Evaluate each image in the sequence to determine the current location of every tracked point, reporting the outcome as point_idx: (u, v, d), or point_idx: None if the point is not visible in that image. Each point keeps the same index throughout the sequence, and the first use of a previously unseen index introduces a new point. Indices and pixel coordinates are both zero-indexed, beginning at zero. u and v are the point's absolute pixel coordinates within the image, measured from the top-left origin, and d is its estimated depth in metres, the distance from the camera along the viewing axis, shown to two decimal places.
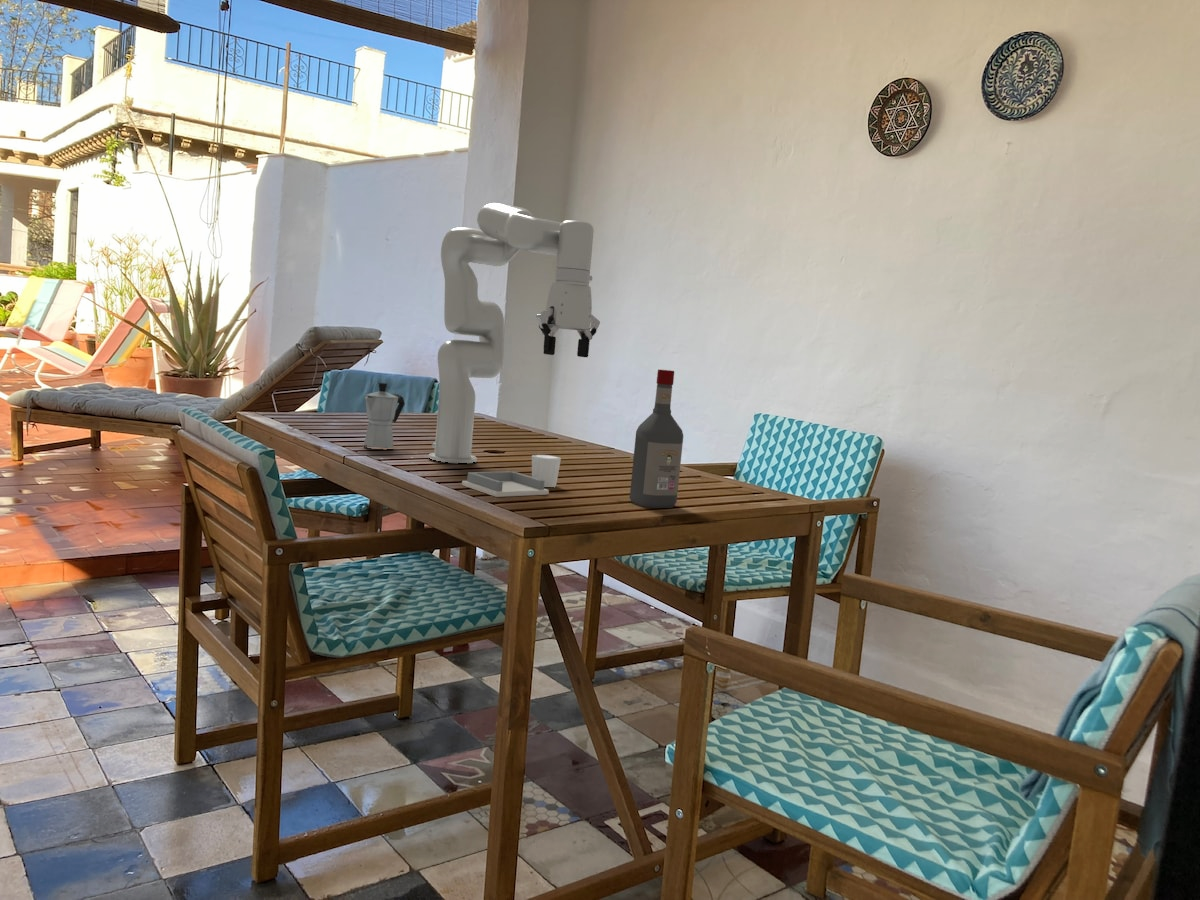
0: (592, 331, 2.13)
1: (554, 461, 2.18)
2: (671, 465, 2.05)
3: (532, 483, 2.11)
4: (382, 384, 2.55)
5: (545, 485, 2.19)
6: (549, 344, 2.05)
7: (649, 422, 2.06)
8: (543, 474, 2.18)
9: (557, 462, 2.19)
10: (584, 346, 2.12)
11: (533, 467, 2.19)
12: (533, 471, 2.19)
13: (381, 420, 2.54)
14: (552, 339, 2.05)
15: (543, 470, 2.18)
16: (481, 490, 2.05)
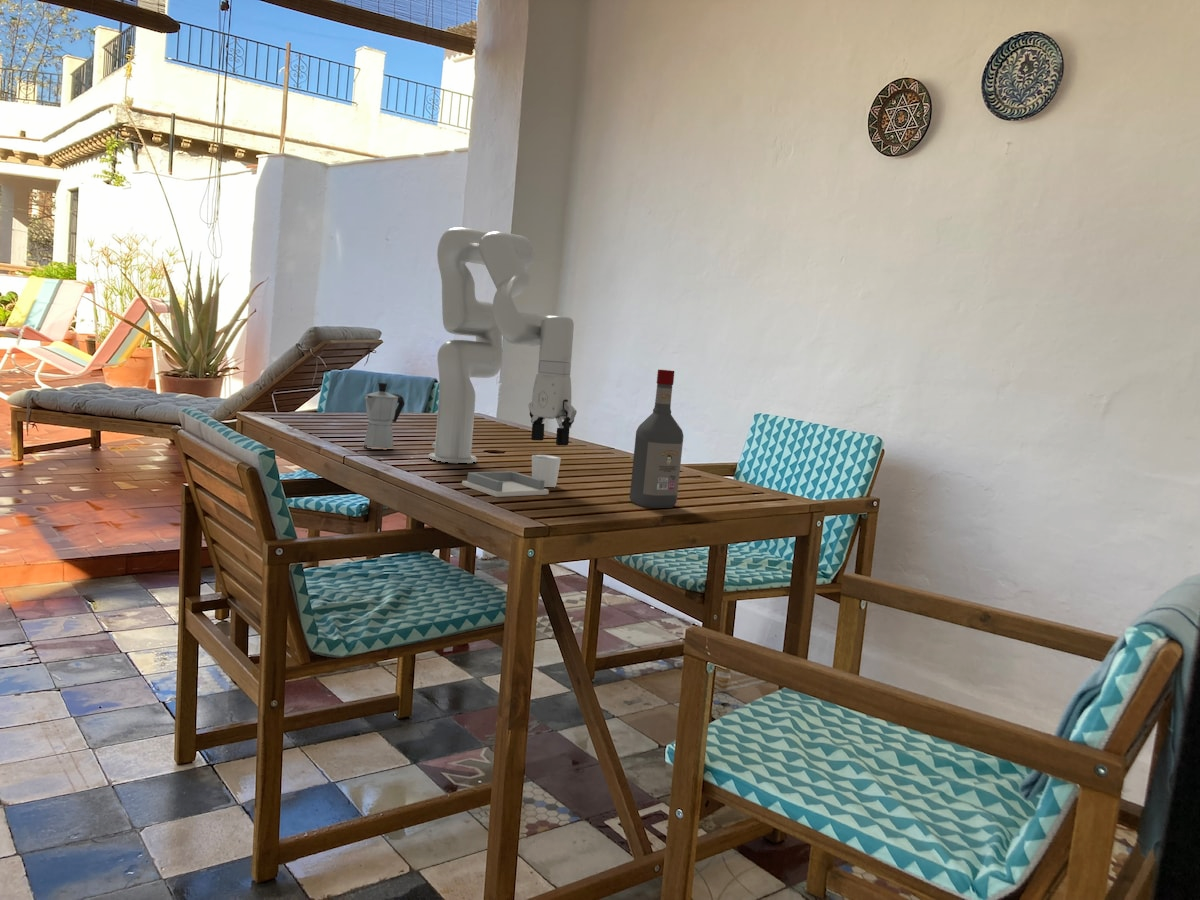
0: None
1: (554, 461, 2.18)
2: (671, 465, 2.05)
3: (532, 483, 2.11)
4: (382, 384, 2.55)
5: (545, 485, 2.19)
6: None
7: (649, 422, 2.06)
8: (543, 474, 2.18)
9: (557, 462, 2.19)
10: (541, 430, 2.23)
11: (533, 467, 2.19)
12: (533, 471, 2.19)
13: (381, 420, 2.54)
14: (568, 430, 2.16)
15: (543, 470, 2.18)
16: (481, 490, 2.05)
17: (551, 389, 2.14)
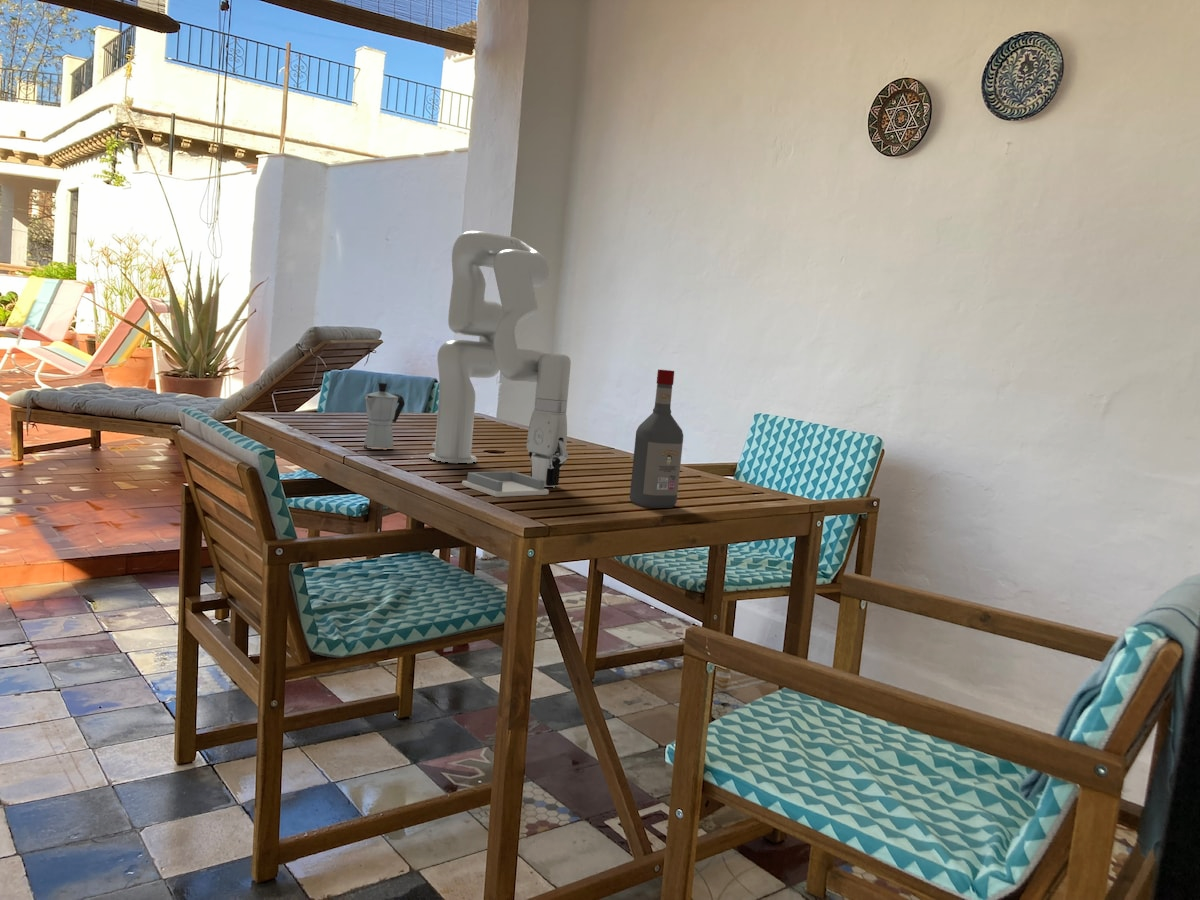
0: None
1: None
2: (671, 465, 2.05)
3: (532, 483, 2.11)
4: (382, 384, 2.55)
5: (545, 485, 2.19)
6: None
7: (649, 422, 2.06)
8: (543, 474, 2.18)
9: None
10: None
11: (533, 467, 2.19)
12: (533, 471, 2.19)
13: (381, 420, 2.54)
14: None
15: (543, 470, 2.18)
16: (481, 490, 2.05)
17: (547, 427, 2.16)
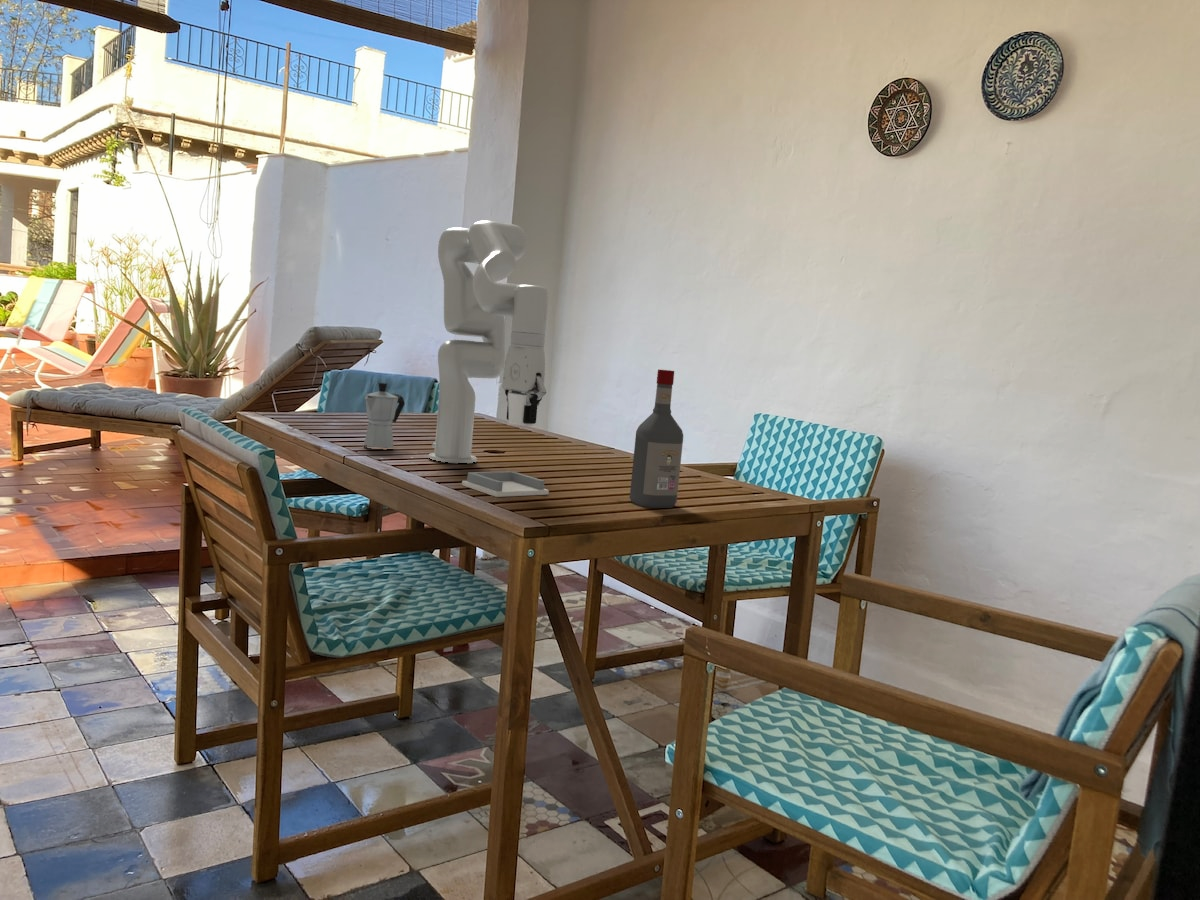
0: None
1: None
2: (671, 465, 2.05)
3: (532, 483, 2.11)
4: (382, 384, 2.55)
5: (522, 423, 2.09)
6: None
7: (649, 422, 2.06)
8: (520, 411, 2.08)
9: None
10: None
11: (510, 404, 2.10)
12: (510, 409, 2.10)
13: (381, 420, 2.54)
14: (535, 408, 2.09)
15: (520, 407, 2.08)
16: (481, 490, 2.05)
17: (524, 361, 2.06)
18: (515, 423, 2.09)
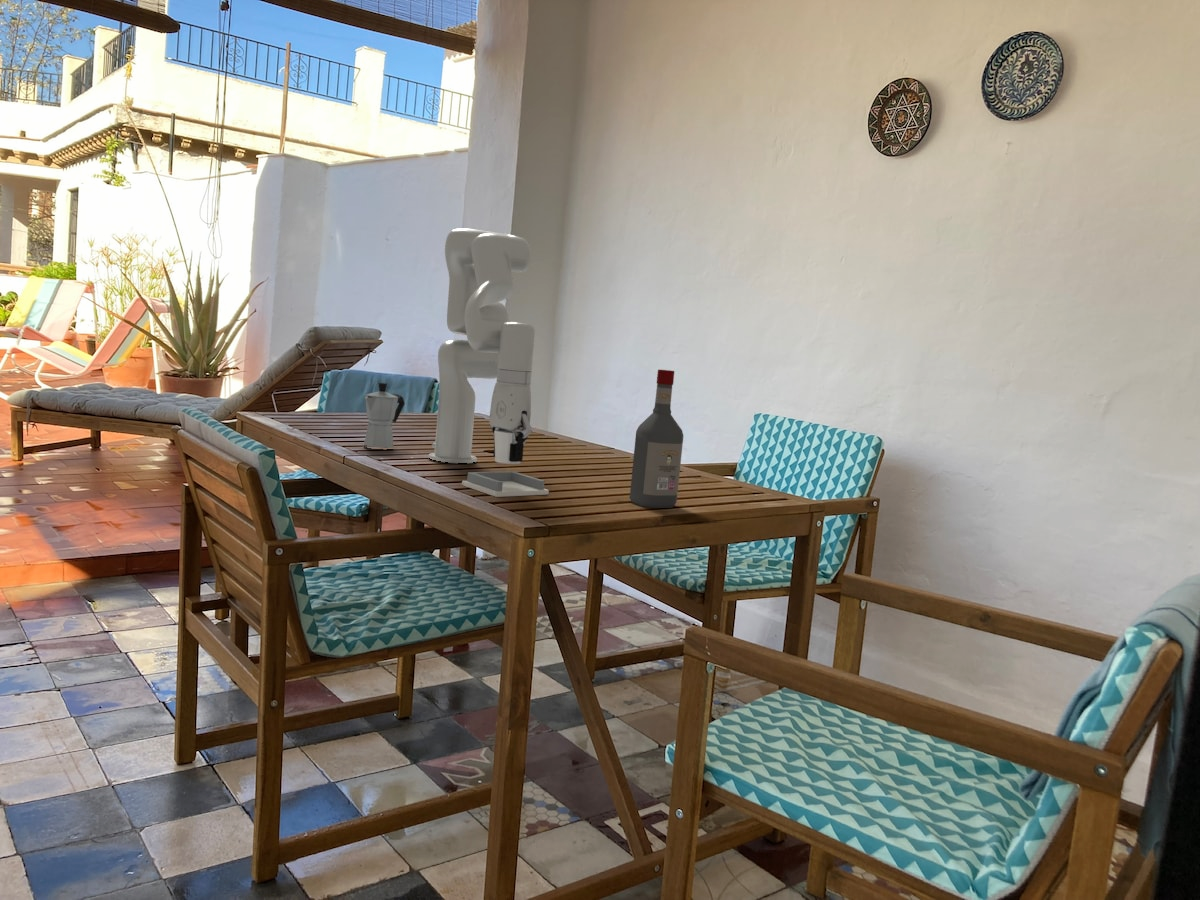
0: None
1: None
2: (671, 465, 2.05)
3: (532, 483, 2.11)
4: (382, 384, 2.55)
5: (508, 461, 2.07)
6: None
7: (649, 422, 2.06)
8: (506, 449, 2.07)
9: None
10: None
11: (496, 442, 2.08)
12: (496, 446, 2.08)
13: (381, 420, 2.54)
14: (522, 446, 2.08)
15: (506, 445, 2.06)
16: (481, 490, 2.05)
17: (509, 399, 2.04)
18: (501, 461, 2.07)
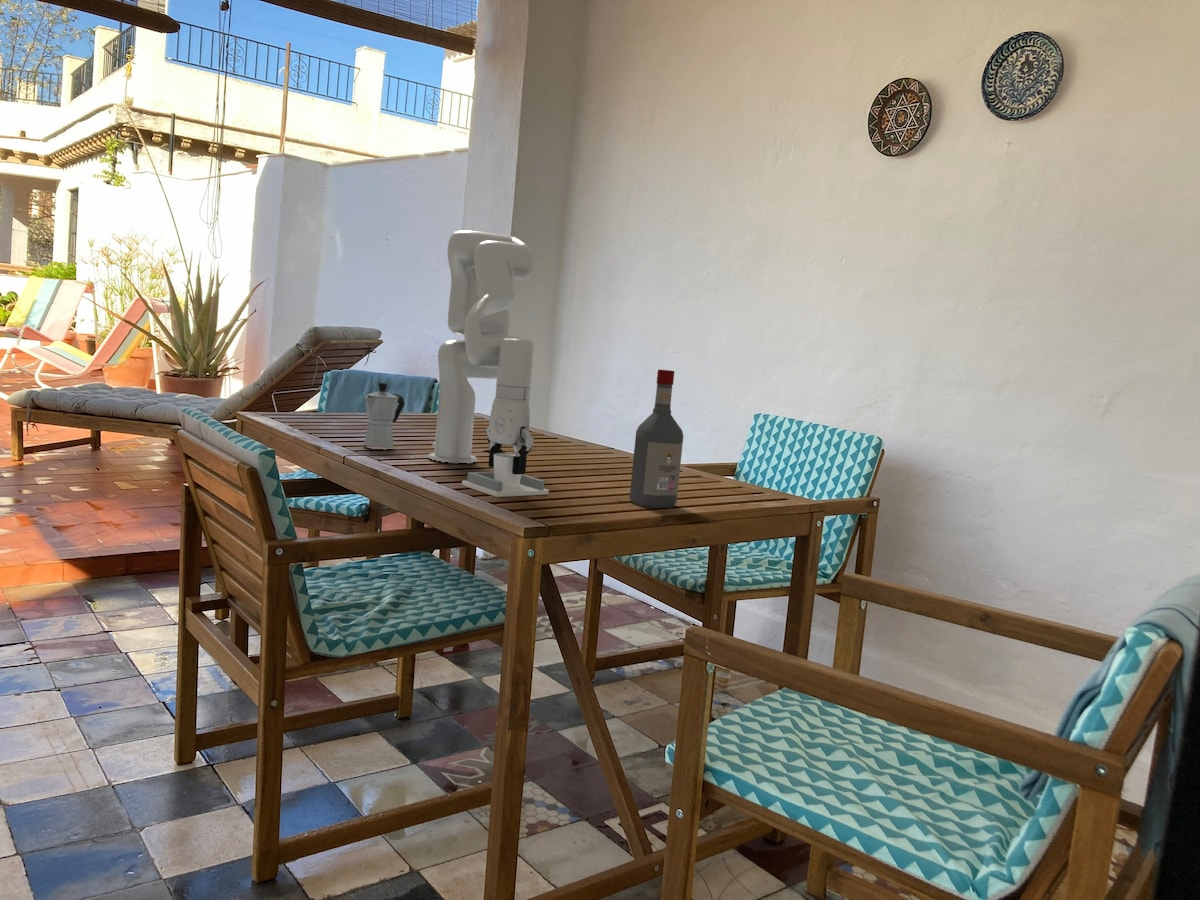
0: None
1: None
2: (671, 465, 2.05)
3: (532, 483, 2.11)
4: (382, 384, 2.55)
5: (508, 485, 2.08)
6: None
7: (649, 422, 2.06)
8: (505, 473, 2.07)
9: None
10: None
11: (495, 466, 2.08)
12: (495, 470, 2.08)
13: (381, 420, 2.54)
14: (525, 459, 2.07)
15: (505, 469, 2.07)
16: (481, 490, 2.05)
17: (508, 415, 2.05)
18: None
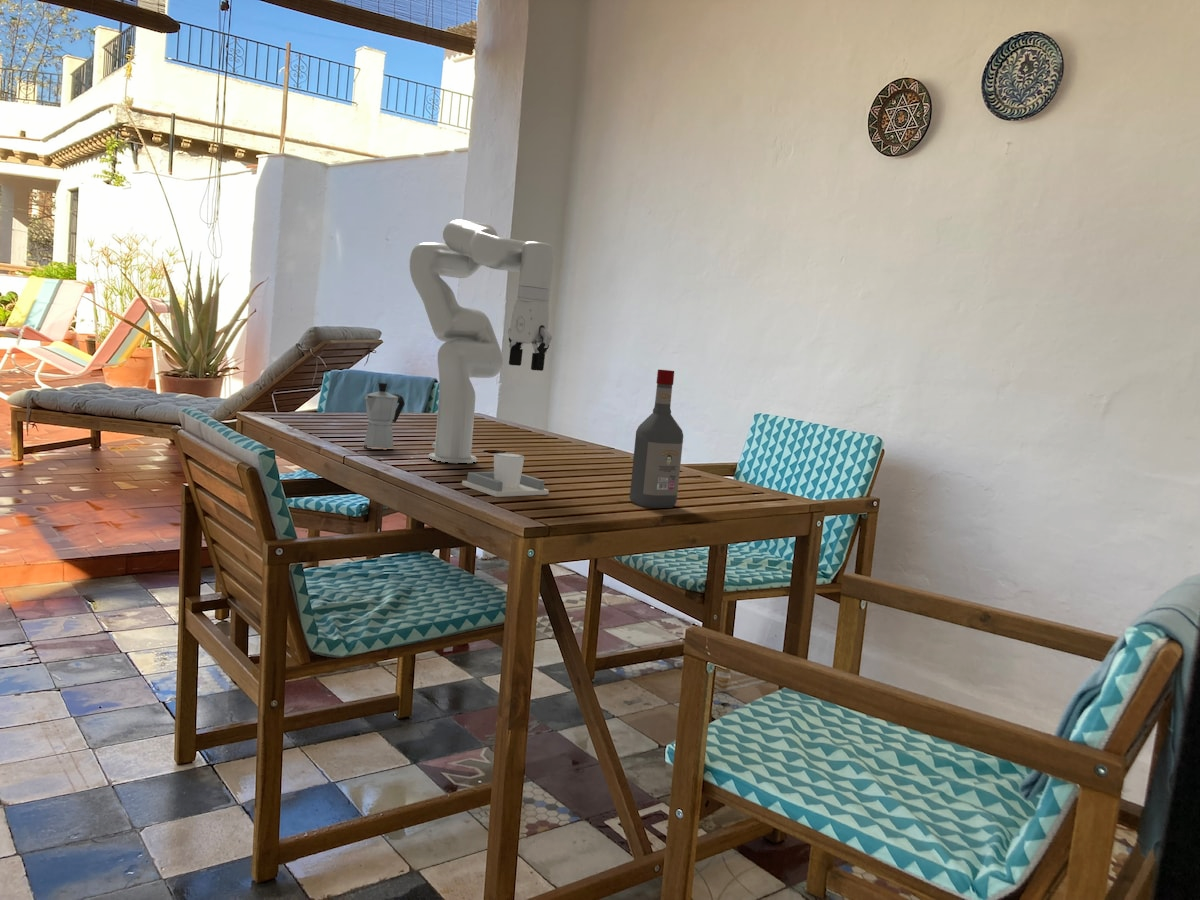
0: None
1: (517, 460, 2.07)
2: (671, 465, 2.05)
3: (532, 483, 2.11)
4: (382, 384, 2.55)
5: (508, 485, 2.08)
6: None
7: (649, 422, 2.06)
8: (506, 473, 2.07)
9: (520, 461, 2.08)
10: (519, 355, 2.28)
11: (495, 466, 2.08)
12: (495, 470, 2.08)
13: (381, 420, 2.54)
14: None
15: (505, 469, 2.07)
16: (481, 490, 2.05)
17: (528, 314, 2.18)
18: None
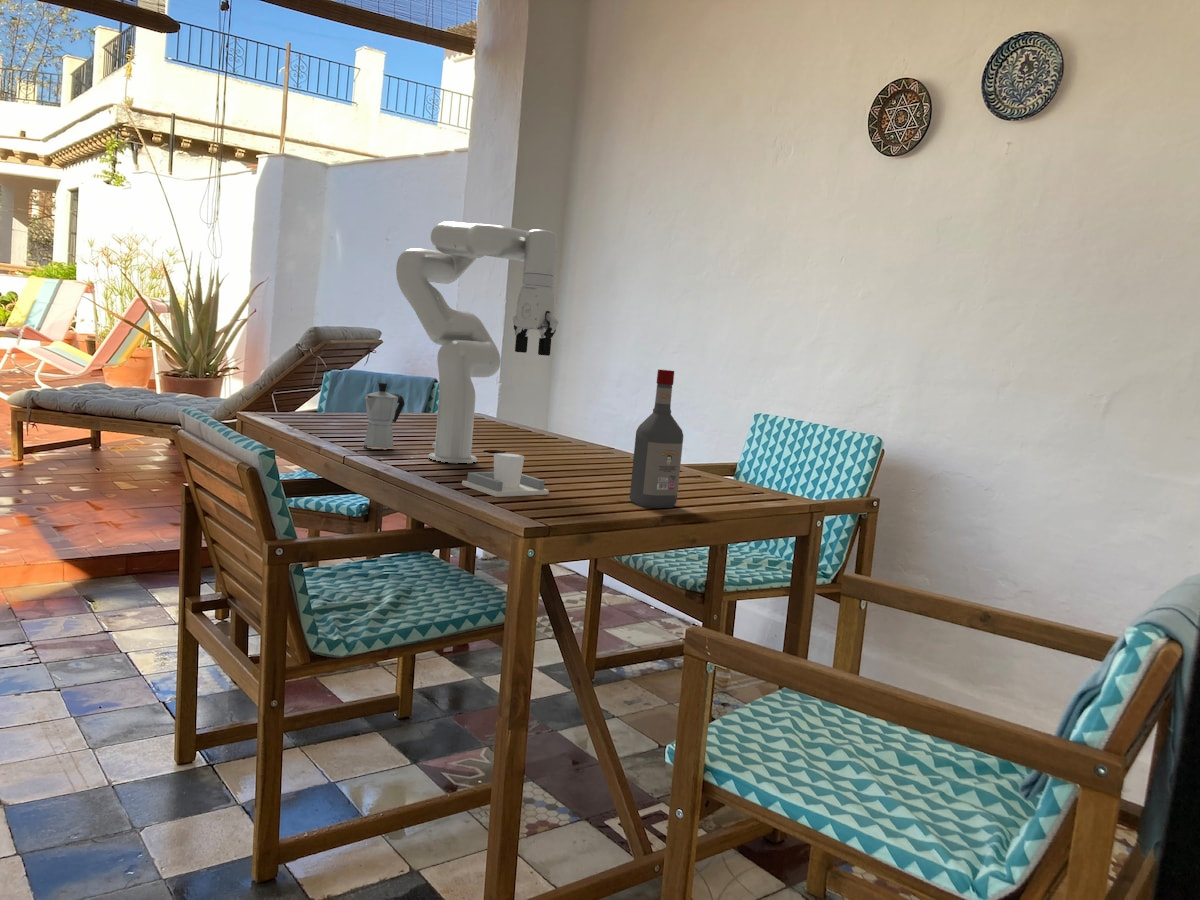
0: None
1: (517, 460, 2.07)
2: (671, 465, 2.05)
3: (532, 483, 2.11)
4: (382, 384, 2.55)
5: (508, 485, 2.08)
6: None
7: (649, 422, 2.06)
8: (506, 473, 2.07)
9: (520, 461, 2.08)
10: (525, 342, 2.32)
11: (495, 466, 2.08)
12: (495, 470, 2.08)
13: (381, 420, 2.54)
14: (550, 341, 2.25)
15: (505, 469, 2.07)
16: (481, 490, 2.05)
17: (534, 300, 2.23)
18: None
